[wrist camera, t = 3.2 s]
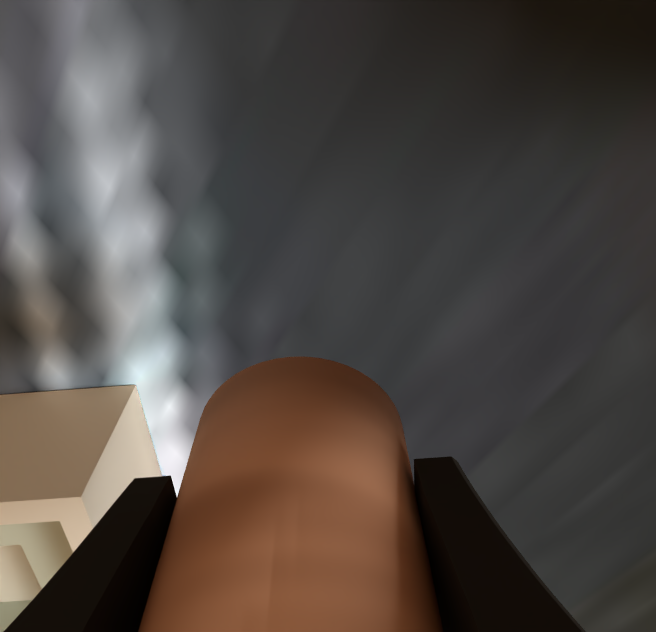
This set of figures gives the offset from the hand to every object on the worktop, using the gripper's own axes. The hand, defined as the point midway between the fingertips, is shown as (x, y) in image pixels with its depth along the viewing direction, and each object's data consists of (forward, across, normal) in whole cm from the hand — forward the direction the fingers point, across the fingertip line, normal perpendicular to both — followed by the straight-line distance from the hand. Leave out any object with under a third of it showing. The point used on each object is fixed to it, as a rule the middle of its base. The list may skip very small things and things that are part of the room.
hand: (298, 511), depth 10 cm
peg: (+2, 0, 0) cm, 2 cm away
